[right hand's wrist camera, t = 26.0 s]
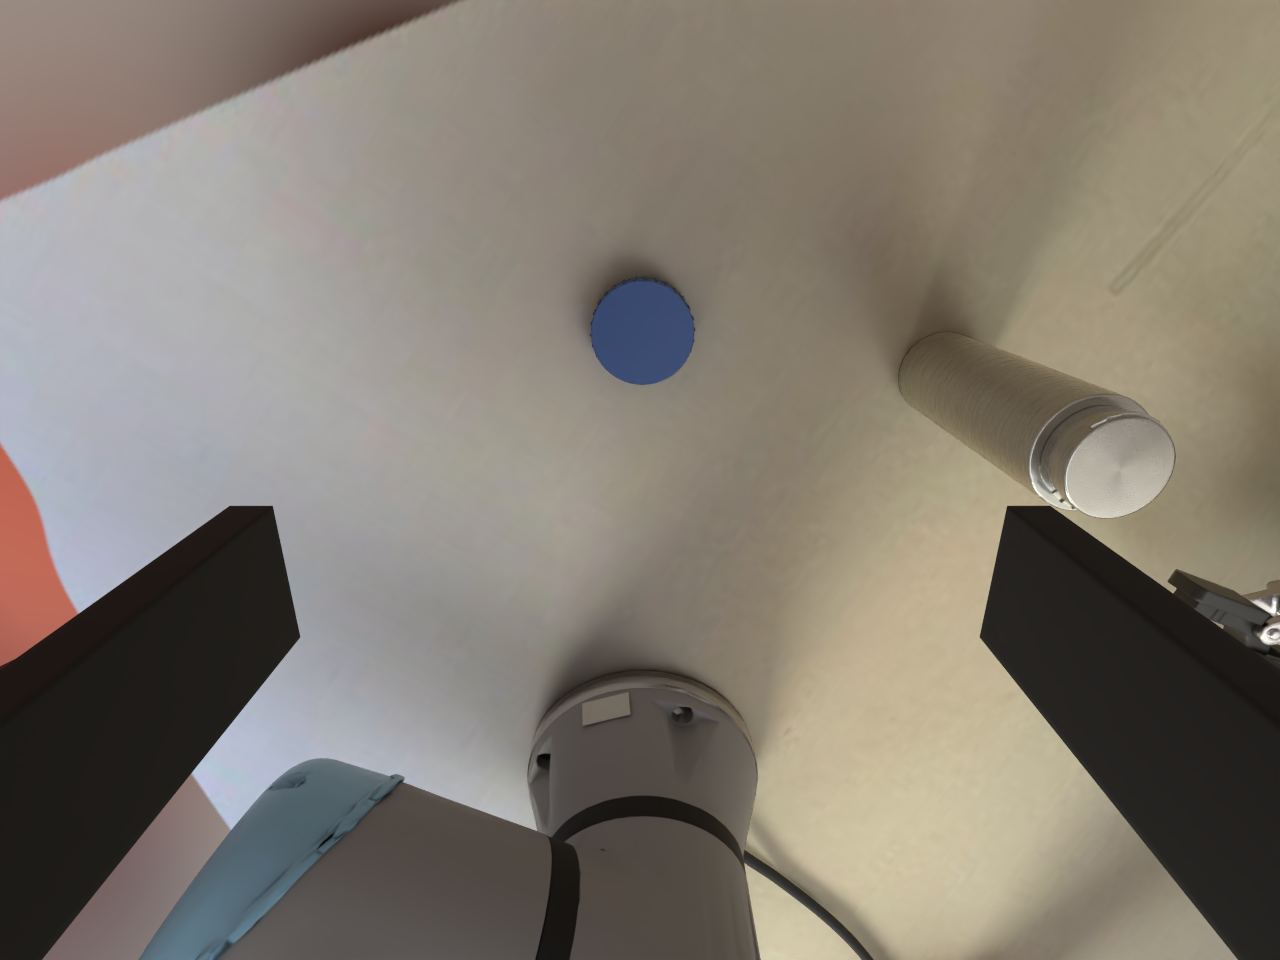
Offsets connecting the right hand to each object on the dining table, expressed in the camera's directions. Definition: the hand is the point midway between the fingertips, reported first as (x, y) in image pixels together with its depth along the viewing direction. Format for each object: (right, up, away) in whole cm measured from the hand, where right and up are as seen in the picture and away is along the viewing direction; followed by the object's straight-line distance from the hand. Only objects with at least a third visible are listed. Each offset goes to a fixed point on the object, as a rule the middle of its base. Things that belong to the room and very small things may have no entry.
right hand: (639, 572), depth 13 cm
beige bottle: (+16, +8, +25) cm, 31 cm away
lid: (0, +9, +23) cm, 25 cm away
